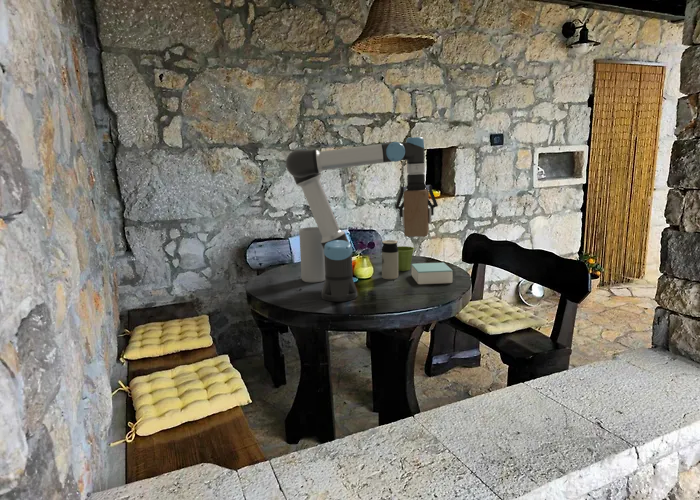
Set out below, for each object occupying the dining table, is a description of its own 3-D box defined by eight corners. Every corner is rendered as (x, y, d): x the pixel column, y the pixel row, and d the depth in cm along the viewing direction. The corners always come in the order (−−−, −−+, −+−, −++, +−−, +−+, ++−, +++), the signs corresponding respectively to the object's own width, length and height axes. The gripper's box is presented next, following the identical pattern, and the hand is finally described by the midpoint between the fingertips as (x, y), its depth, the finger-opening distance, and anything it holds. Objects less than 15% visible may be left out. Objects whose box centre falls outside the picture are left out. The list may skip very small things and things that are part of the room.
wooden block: (427, 237, 203) (426, 190, 199) (404, 237, 205) (403, 191, 201) (428, 233, 212) (428, 188, 208) (406, 233, 215) (405, 189, 211)
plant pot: (391, 267, 251) (391, 246, 249) (413, 266, 250) (413, 246, 248) (392, 272, 239) (392, 250, 237) (415, 272, 239) (415, 250, 236)
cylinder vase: (324, 275, 237) (322, 226, 232) (329, 281, 225) (327, 230, 220) (299, 277, 234) (297, 228, 229) (303, 284, 222) (301, 231, 217)
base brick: (418, 284, 216) (418, 271, 215) (411, 275, 232) (411, 263, 231) (452, 282, 217) (452, 270, 216) (443, 274, 233) (443, 262, 232)
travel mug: (398, 275, 233) (398, 239, 229) (398, 279, 225) (398, 242, 222) (382, 275, 234) (381, 240, 230) (381, 279, 226) (381, 243, 222)
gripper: (389, 175, 200) (391, 226, 204) (444, 172, 200) (445, 223, 204) (387, 174, 207) (389, 223, 211) (440, 172, 207) (441, 221, 212)
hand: (416, 223), depth 208 cm, fingers closed on wooden block, 11 cm apart
